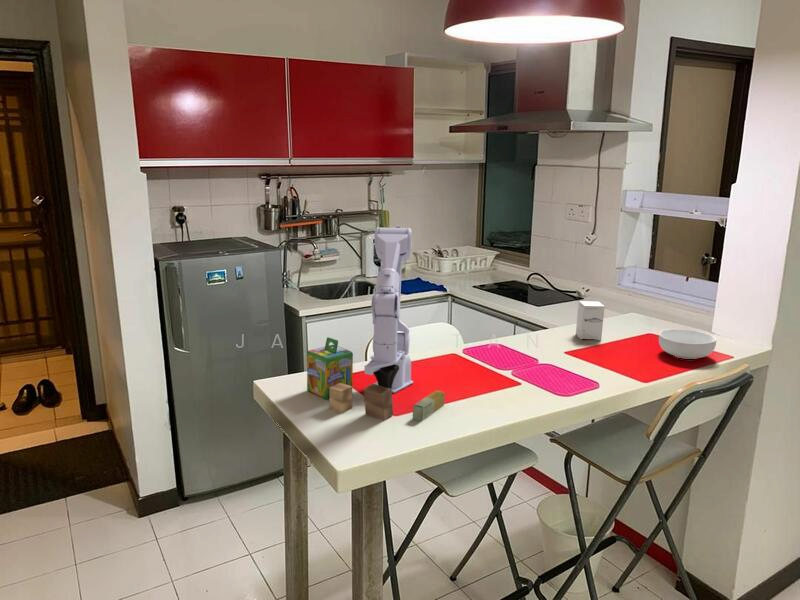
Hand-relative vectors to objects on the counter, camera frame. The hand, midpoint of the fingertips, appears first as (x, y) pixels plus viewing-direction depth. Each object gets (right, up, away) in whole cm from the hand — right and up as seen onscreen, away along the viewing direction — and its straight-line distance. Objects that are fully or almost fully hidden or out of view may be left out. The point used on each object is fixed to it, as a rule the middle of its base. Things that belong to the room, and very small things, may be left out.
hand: (385, 393), depth 150 cm
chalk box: (-15, -2, +14) cm, 21 cm away
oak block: (-11, -4, +3) cm, 12 cm away
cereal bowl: (+96, +5, +45) cm, 106 cm away
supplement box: (+71, +10, +64) cm, 96 cm away
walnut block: (-1, -5, -1) cm, 5 cm away
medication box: (+11, -5, +2) cm, 12 cm away
